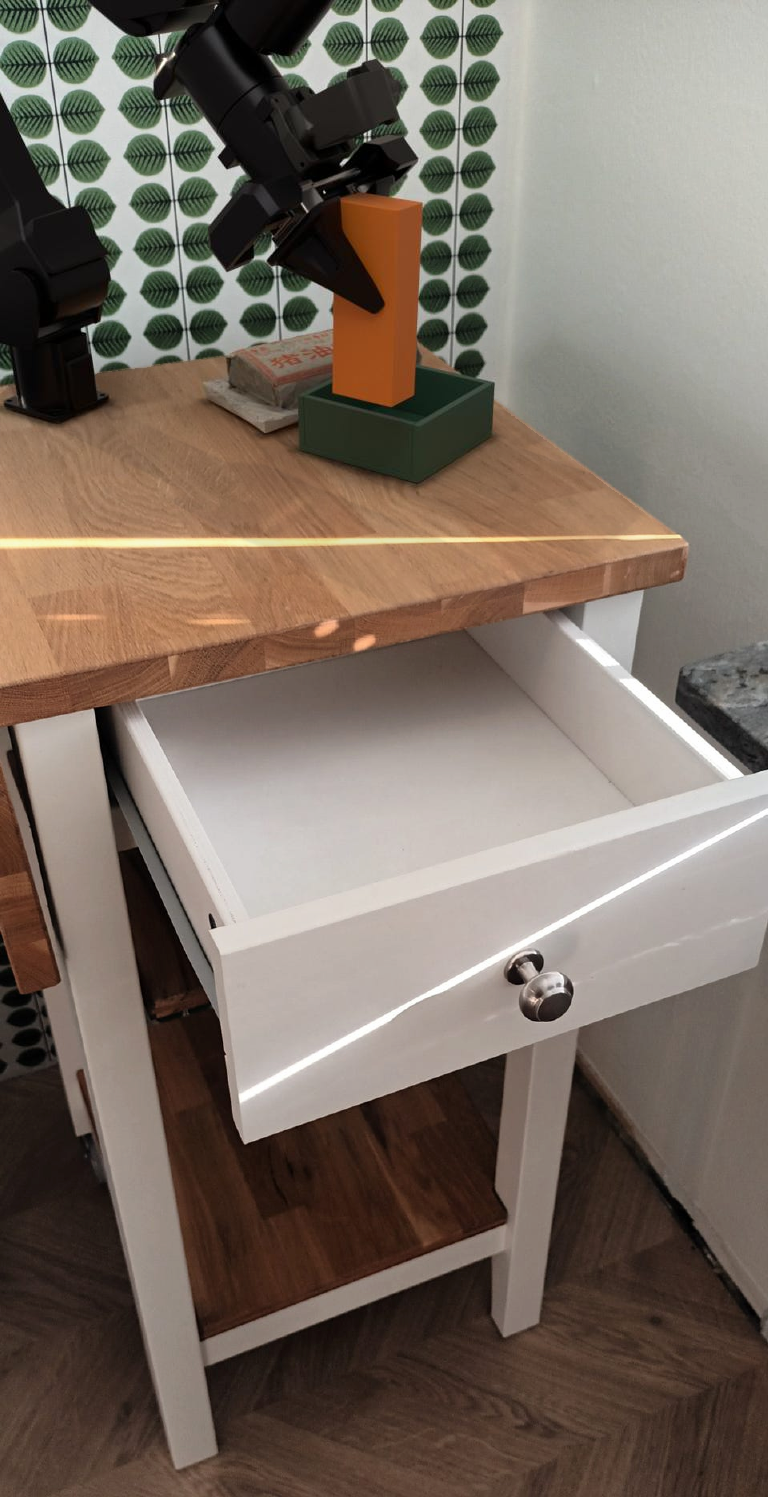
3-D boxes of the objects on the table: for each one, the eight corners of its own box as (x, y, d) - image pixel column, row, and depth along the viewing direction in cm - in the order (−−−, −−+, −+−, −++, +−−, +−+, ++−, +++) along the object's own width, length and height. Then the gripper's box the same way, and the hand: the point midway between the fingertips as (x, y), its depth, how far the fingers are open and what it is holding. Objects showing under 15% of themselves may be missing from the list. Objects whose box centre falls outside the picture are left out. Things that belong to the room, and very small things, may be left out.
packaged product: (370, 306, 113) (439, 335, 107) (370, 359, 116) (437, 390, 110) (197, 344, 104) (261, 378, 98) (202, 400, 107) (264, 437, 101)
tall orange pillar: (332, 393, 90) (333, 199, 82) (356, 381, 92) (359, 192, 84) (391, 407, 87) (398, 210, 80) (414, 395, 90) (423, 202, 82)
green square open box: (299, 450, 99) (297, 395, 96) (378, 407, 106) (378, 355, 104) (418, 483, 94) (419, 426, 91) (492, 436, 101) (495, 382, 99)
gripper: (234, 32, 71) (399, 261, 73) (396, 2, 84) (532, 198, 86) (140, 165, 79) (292, 369, 81) (301, 119, 92) (428, 296, 94)
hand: (392, 303), depth 85 cm, fingers closed on tall orange pillar, 3 cm apart
